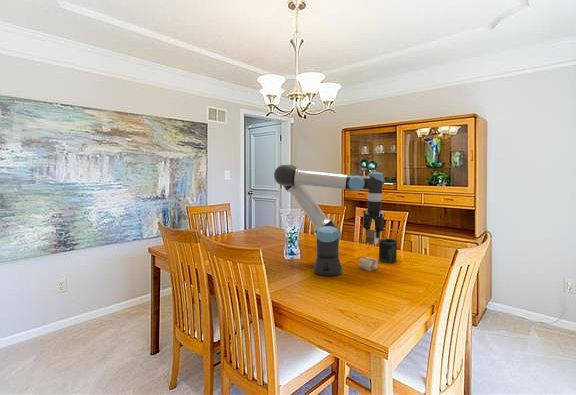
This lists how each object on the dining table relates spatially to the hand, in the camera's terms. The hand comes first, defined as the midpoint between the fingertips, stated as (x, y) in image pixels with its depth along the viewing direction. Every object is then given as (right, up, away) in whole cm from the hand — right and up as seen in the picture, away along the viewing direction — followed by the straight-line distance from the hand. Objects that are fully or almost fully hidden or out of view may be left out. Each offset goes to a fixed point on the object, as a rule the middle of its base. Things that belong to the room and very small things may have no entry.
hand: (371, 242), depth 178 cm
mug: (+14, -13, +15) cm, 24 cm away
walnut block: (0, 0, 0) cm, 0 cm away
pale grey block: (-2, -14, 0) cm, 14 cm away
